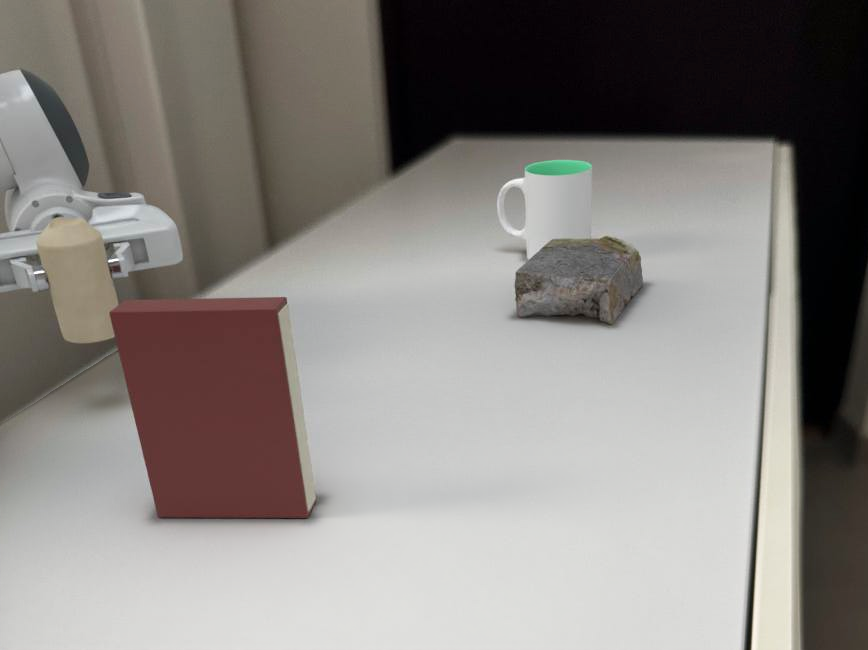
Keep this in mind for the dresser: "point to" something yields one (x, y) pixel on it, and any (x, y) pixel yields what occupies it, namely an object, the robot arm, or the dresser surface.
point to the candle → (78, 279)
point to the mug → (552, 203)
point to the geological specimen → (579, 278)
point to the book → (217, 406)
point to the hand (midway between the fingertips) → (79, 275)
